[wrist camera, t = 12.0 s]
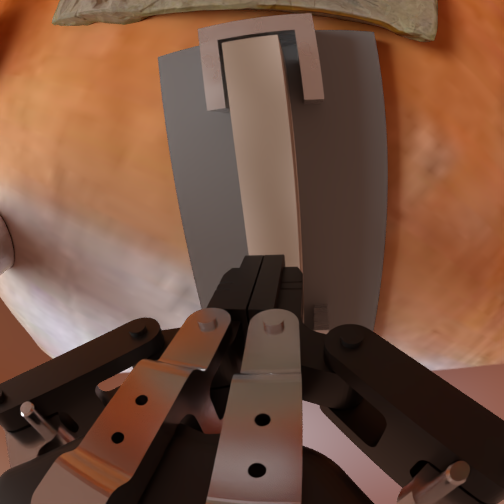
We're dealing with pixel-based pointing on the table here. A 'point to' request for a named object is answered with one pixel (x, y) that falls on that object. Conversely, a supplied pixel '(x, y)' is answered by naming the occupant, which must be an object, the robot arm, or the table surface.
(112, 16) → the stone slab
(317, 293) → the base board
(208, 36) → the end caps
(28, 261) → the table surface
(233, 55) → the slat
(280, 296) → the robot arm
